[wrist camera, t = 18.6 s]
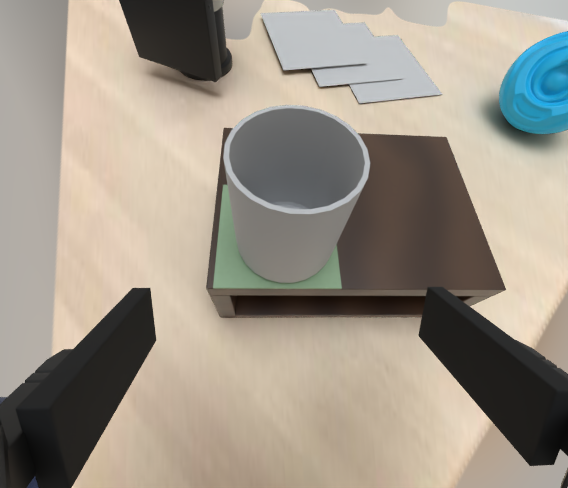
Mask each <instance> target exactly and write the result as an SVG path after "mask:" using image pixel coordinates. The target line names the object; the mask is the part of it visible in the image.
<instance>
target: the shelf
mask: <svg viewBox="0 0 568 488" xmlns="http://www.w3.org/2000/svg"><path fill="white" fill-rule="evenodd" d="M232 129H233V128H224V131H223V140H222V149H221V158H220V168H219V177H218V186H217V195H216V204H215V213H214V222H213V231H212V241H211V250H210V259H209V268H208V277H207V286H206V289H207V291H208V293H209V295H210V297H211V299H212V301H213V303H214V305H215V307H216V309H217V311H218V313H219V316H220V317H422V314H423V309H424V303H425V298H426V292H427V287H444V288H445V289H446V290H448V291H449V292H451V293H452V294H453V295H455V296H456V297H457V298H459V299H460V300H461V301H463V302H464V303H465V304H467V305H468V306H472V305H474V304H476V303H478V302H480V301H482V300H485V299H487V298H489V297H491V296H494V295H496V294H498V293H500V292H502V291H505V290H506V288H505V286H504V283H503V280H502V278H501V275H500V273H499V270H498V268H497V265H496V263H495V260H494V257H493V255H492V252H491V250H490V247H489V245H488V242H487V240H486V237H485V235H484V232H483V229H482V227H481V224H480V222H479V219H478V217H477V214H476V212H475V209H474V206H473V204H472V201H471V199H470V196H469V194H468V191H467V189H466V186H465V183H464V181H463V178H462V176H461V173H460V171H459V168H458V166H457V163H456V160H455V158H454V155H453V153H452V150H451V148H450V145H449V143H448V140H447V137H431V136H407V135H383V134H359V133H357V134H358V135H359V136H360V137H361V139H362V140H363V142H364V144H365V146H366V148H367V150H368V155H369V160H370V168H369V175H368V179H367V181H366V183H365V185H364V187H363V189H362V191H361V193H360V196H359V198H358V200H357V202H356V204H355V206H354V208H353V210H352V212H351V214H350V217H349V219H348V221H347V223H346V225H345V227H344V229H343V231H342V233H341V235H340V238H339V240H338V242H337V244H336V246H335V248H334V250H333V252H332V254H331V256H330V258H329V260H328V261H327V263H326V264H325V266H324V267H323V268H322V269H321V270H320V271H319V272H318V273H317V274H315V275H313V276H311V277H309V278H308V279H306V280H302V281H298V282H294V283H279V282H275V281H271V280H267V279H265V278H263V277H261V276H260V275H258V274H256V273H254V272H253V271H252V270H251V269H250V268H249V267H248V266H247V265H246V264H245V262H244V260H243V258H242V257H241V255H240V253H239V249H238V245H237V241H236V236H235V230H234V223H233V217H232V210H231V204H230V197H229V191H228V184H227V178H226V172H225V165H224V159H223V156H224V147H225V142H226V140H227V138H228V136H229V134H230V132H231V130H232Z"/></svg>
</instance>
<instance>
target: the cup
mask: <svg viewBox="0 0 568 488" xmlns="http://www.w3.org/2000/svg"><path fill="white" fill-rule="evenodd" d="M223 159H224V165H225V172H226V178H227V184H228V191H229V197H230V204H231V210H232V217H233V223H234V230H235V236H236V241H237V245H238V249H239V253H240V255H241V257H242V258H243V260H244V262H245V264H246V265H247V266H248V267H249V268H250V269H251V270H252V271H253V272H254V273H256V274H258V275H260V276H261V277H263V278H265V279H267V280H271V281H275V282H279V283H294V282H298V281H302V280H306V279H308V278H309V277H311V276H313V275H315V274H317V273H318V272H319V271H320V270H321V269H322V268H323V267H324V266H325V264H326V263H327V261H328V260H329V258H330V256H331V254H332V252H333V250H334V248H335V246H336V244H337V242H338V240H339V238H340V235H341V233H342V231H343V229H344V227H345V225H346V223H347V221H348V219H349V217H350V214H351V212H352V210H353V208H354V206H355V204H356V202H357V200H358V198H359V196H360V193H361V191H362V189H363V187H364V185H365V183H366V181H367V179H368V175H369V168H370V160H369V155H368V150H367V148H366V146H365V144H364V142H363V140H362V139H361V137H360V136H359V135H358V134H357V132H356V131H355V130H354V129H353V128H352V127H351V126H350V125H348V124H347V123H346V122H344V121H343V120H341V119H340V118H338V117H337V116H335V115H332V114H330V113H327V112H325V111H323V110H320V109H316V108H311V107H307V106H298V105H282V106H274V107H269V108H266V109H263V110H260V111H257V112H254V113H252V114H251V115H249V116H247V117H246V118H244V119H242V120H241V121H240V122H239V123H238V124H237V125H236V126H235V127H234V128H233V129H232V130H231V132H230V134H229V136H228V138H227V140H226V142H225V147H224V156H223Z"/></svg>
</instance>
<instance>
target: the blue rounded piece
mask: <svg viewBox="0 0 568 488" xmlns="http://www.w3.org/2000/svg"><path fill="white" fill-rule="evenodd" d="M499 104H500V108H501V111H502V113H503V115H504V117H505V118H506V120H507V121H508V122H509V123H510V124H511V125H512V126H514V127H515V128H517V129H519V130H522V131H525V132H528V133H534V134H551V133H557V132H562V131H565V130H568V31H567V32H562V33H559V34H556V35H553V36H551V37H548V38H546V39H544V40H542V41H540V42H538V43H536V44H534V45H533V46H531V47H530V48H528V49H527V50H526V51H525V52H524V53H522V54H521V55H520V56H519V57H518V58H517V60H516V61H515V62H514V63H513V64H512V66H511V67H510V68H509V70H508V72H507V73H506V75H505V77H504V79H503V82H502V84H501V88H500V92H499Z"/></svg>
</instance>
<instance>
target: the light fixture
mask: <svg viewBox="0 0 568 488" xmlns="http://www.w3.org/2000/svg"><path fill="white" fill-rule="evenodd" d="M119 1H120V4H121V7H122V10H123V12H124V15H125V18H126V21H127V24H128V26H129V29H130V32H131V35H132V38H133V41H134V43H135V46H136V49H137V52H138V55H139V57H141V58H144V59H147V60H150V61H153V62H156V63H159V64H162V65H165V66H168V67H171V68H174V69H177V70H180V71H181V72H182V73H183V74H184V75H186V76H188V77H190V78H193V79H198V80H211V81H214V82H216V81H217V80H218V79H219V78H220V77H222V76H224V75H225V74H226V73H228V72H229V71H230V69H231V67H232V56H231V53H230V51H229V50H228V49H227V48H226V39H225V29H224V20H223V10H222V5H223V3H224V0H119Z"/></svg>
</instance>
